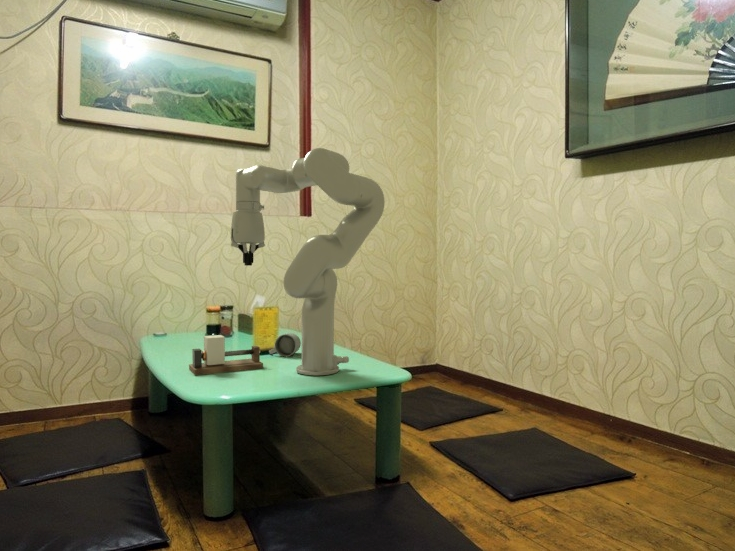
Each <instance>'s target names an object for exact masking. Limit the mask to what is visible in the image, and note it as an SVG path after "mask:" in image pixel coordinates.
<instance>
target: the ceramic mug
mask: <svg viewBox="0 0 735 551" xmlns="http://www.w3.org/2000/svg"><path fill="white" fill-rule="evenodd" d="M301 346H302V340H301V339H300V336H298V335H297V334H295V333H292V332H289V333H284V334H281V335H279V336H278V337H277V338H276V339H275V341H274V347H272V348H271V349H269V350H268V353H269V355H273V354H275V353H277V354H278V355H279V356H280V357H283V356H287V357H286V358H288V357H291V356H292V355H294V354H295V353H297V352H298V351H299V350H300V348H301Z"/></svg>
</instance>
